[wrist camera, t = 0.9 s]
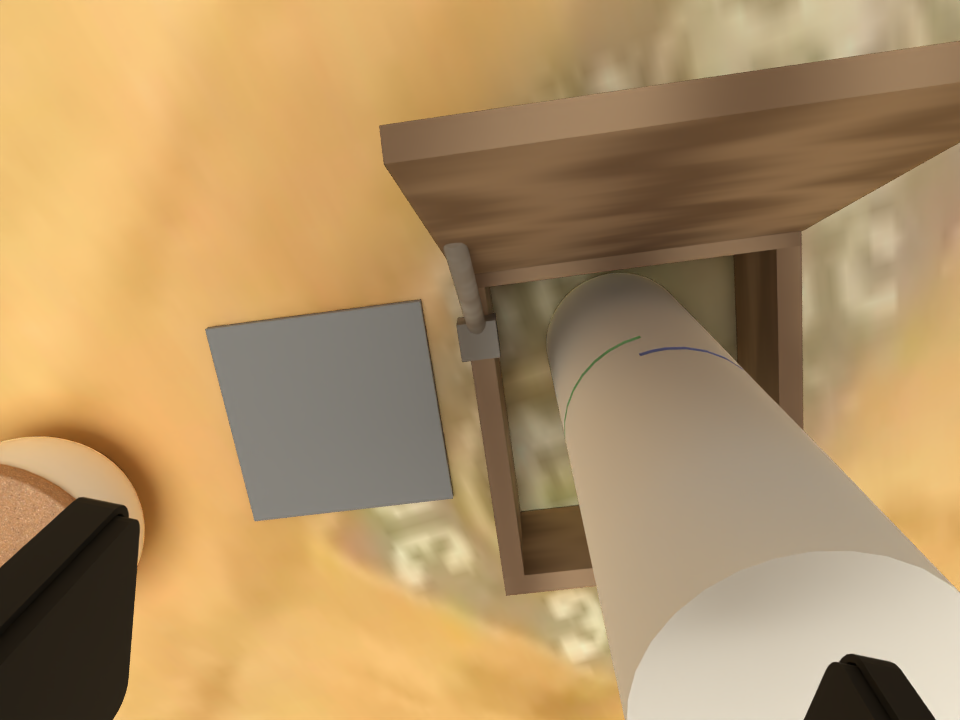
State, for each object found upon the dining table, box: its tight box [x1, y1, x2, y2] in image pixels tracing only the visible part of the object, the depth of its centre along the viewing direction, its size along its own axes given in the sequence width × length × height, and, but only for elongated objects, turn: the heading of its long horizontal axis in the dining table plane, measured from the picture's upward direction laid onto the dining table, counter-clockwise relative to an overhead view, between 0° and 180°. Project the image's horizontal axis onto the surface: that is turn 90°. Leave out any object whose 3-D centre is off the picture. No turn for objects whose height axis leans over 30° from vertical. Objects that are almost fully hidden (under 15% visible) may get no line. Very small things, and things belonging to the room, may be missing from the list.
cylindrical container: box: [546, 273, 960, 720], centre depth 27 cm, size 7×7×25 cm
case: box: [379, 41, 960, 596], centre depth 28 cm, size 14×22×21 cm, turn 8°
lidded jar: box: [0, 436, 145, 567], centre depth 37 cm, size 11×11×9 cm
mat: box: [205, 300, 453, 521], centre depth 40 cm, size 11×11×1 cm
